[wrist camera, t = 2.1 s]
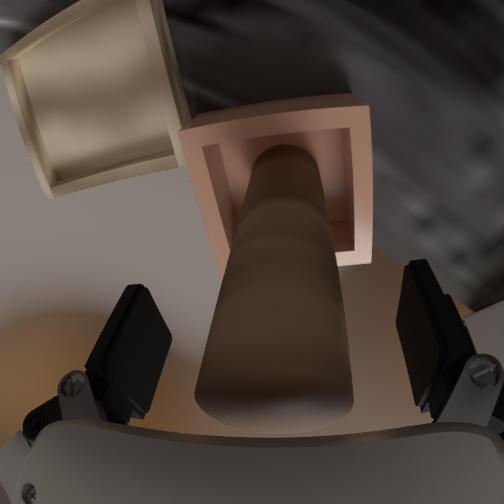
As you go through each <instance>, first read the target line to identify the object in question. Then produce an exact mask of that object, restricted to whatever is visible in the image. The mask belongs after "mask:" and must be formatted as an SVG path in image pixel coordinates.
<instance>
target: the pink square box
mask: <svg viewBox="0 0 504 504" xmlns="http://www.w3.org/2000/svg"><path fill="white" fill-rule="evenodd" d="M177 132H178V136H179V140H180V143H181V147H182V150H183V154H184V157H185V161H186V164H187V168H188V171H189V174H190V178H191V181H192V185H193V188H194V191H195V195H196V198H197V201H198V205H199V208H200V211H201V214H202V218H203V221H204V224H205V227H206V230H207V234H208V237H209V240H210V244H211V246H212V250H213V253H214V256H215V259H216V262H217V265H218V268H219V272H220V275H224V273H225V269H226V265H227V262H228V258H229V254H230V250H231V246H232V243H233V239H234V235H235V232H236V228H237V224H238V220H239V217H240V213H241V209H242V206H243V202H244V198H245V195H246V191H247V188H248V184H249V180H250V177H251V173H252V170H253V166H254V163H255V161H256V160H257V158H258V157H259V156H260V154H262V153H263V152H264V151H265V150H267V149H269V148H271V147H273V146H276V145H283V144H288V145H294V146H298V147H300V148H302V149H304V150H306V151H307V152H308V153H309V154H310V155H311V156H312V157H313V158H314V159H315V161H316V163H317V165H318V168H319V172H320V177H321V181H322V186H323V191H324V195H325V200H326V205H327V210H328V215H329V221H330V226H331V231H332V237H333V242H334V248H335V254H336V260H337V266H344V265H355V264H366V263H371V254H372V227H373V170H372V143H371V125H370V112H369V105H368V104H366V103H365V102H364V101H362V100H361V99H360V98H358V97H357V96H356V95H354V94H353V93H345V94H330V95H318V96H308V97H298V98H290V99H282V100H274V101H267V102H260V103H254V104H248V105H242V106H236V107H230V108H225V109H220V110H215V111H210V112H205V113H200V114H198V115H197V116H195V117H194V118H193V119H192V120H190V121H189V122H188V123H187V124H186V125H184V126H183V127H182V128H181V129H180V130H179V131H177Z"/></svg>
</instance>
